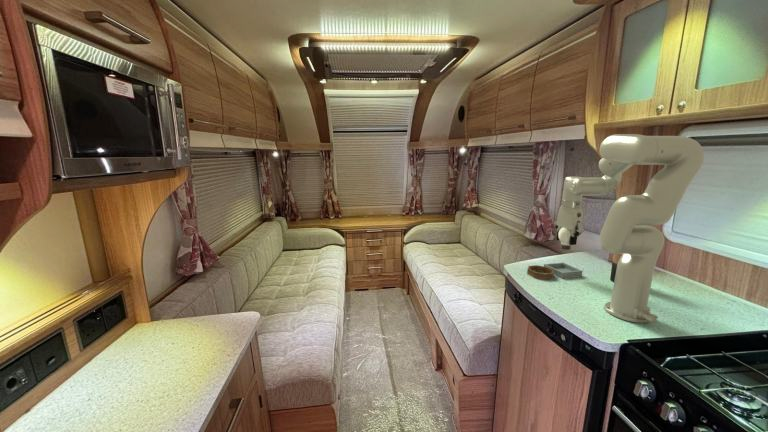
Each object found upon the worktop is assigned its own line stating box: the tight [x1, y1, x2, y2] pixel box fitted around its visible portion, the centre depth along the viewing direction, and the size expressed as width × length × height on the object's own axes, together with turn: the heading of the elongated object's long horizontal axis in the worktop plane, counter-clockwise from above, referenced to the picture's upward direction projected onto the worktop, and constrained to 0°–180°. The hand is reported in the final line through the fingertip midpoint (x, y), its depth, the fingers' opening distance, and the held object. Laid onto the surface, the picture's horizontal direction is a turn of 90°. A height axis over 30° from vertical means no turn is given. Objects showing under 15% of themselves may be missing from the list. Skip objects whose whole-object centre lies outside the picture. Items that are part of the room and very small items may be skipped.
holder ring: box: [526, 264, 554, 280], centre depth 136 cm, size 10×10×2 cm
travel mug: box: [609, 254, 622, 283], centre depth 127 cm, size 8×8×20 cm
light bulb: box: [558, 228, 575, 251], centre depth 136 cm, size 7×7×11 cm
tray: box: [543, 262, 583, 279], centre depth 139 cm, size 11×11×3 cm
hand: (565, 242), depth 136 cm, fingers closed on light bulb, 6 cm apart
